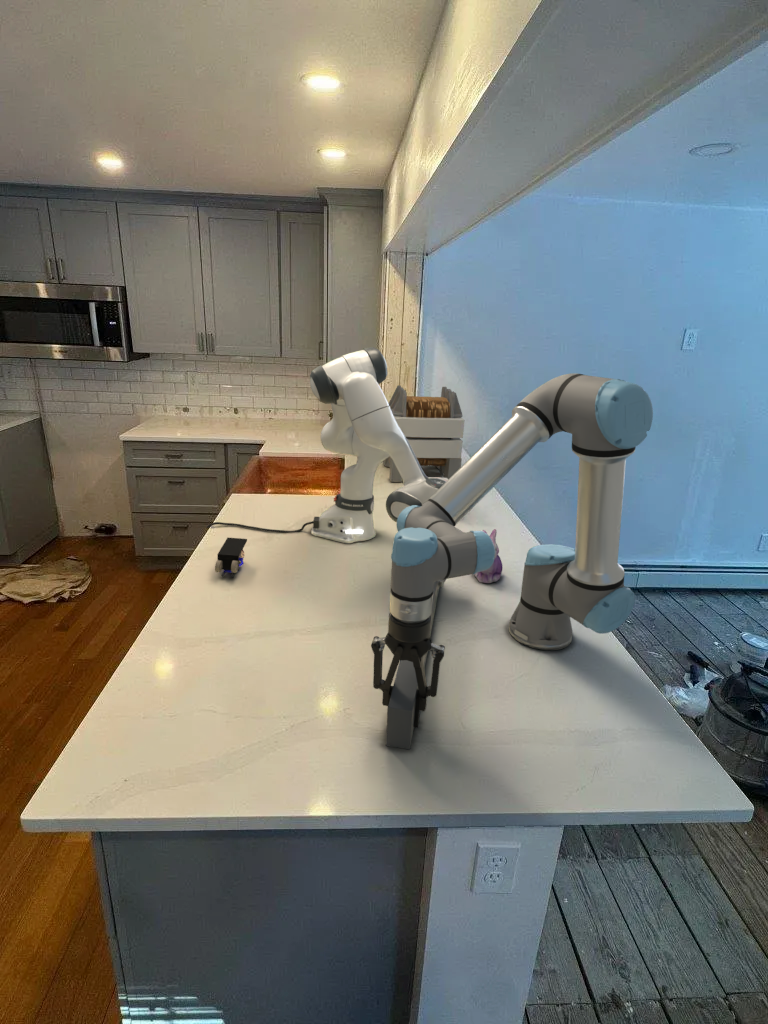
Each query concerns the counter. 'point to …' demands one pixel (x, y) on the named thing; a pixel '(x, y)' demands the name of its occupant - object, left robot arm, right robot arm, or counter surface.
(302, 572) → the counter surface
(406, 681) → the post
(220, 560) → the black wheeled block
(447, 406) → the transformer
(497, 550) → the figurine
